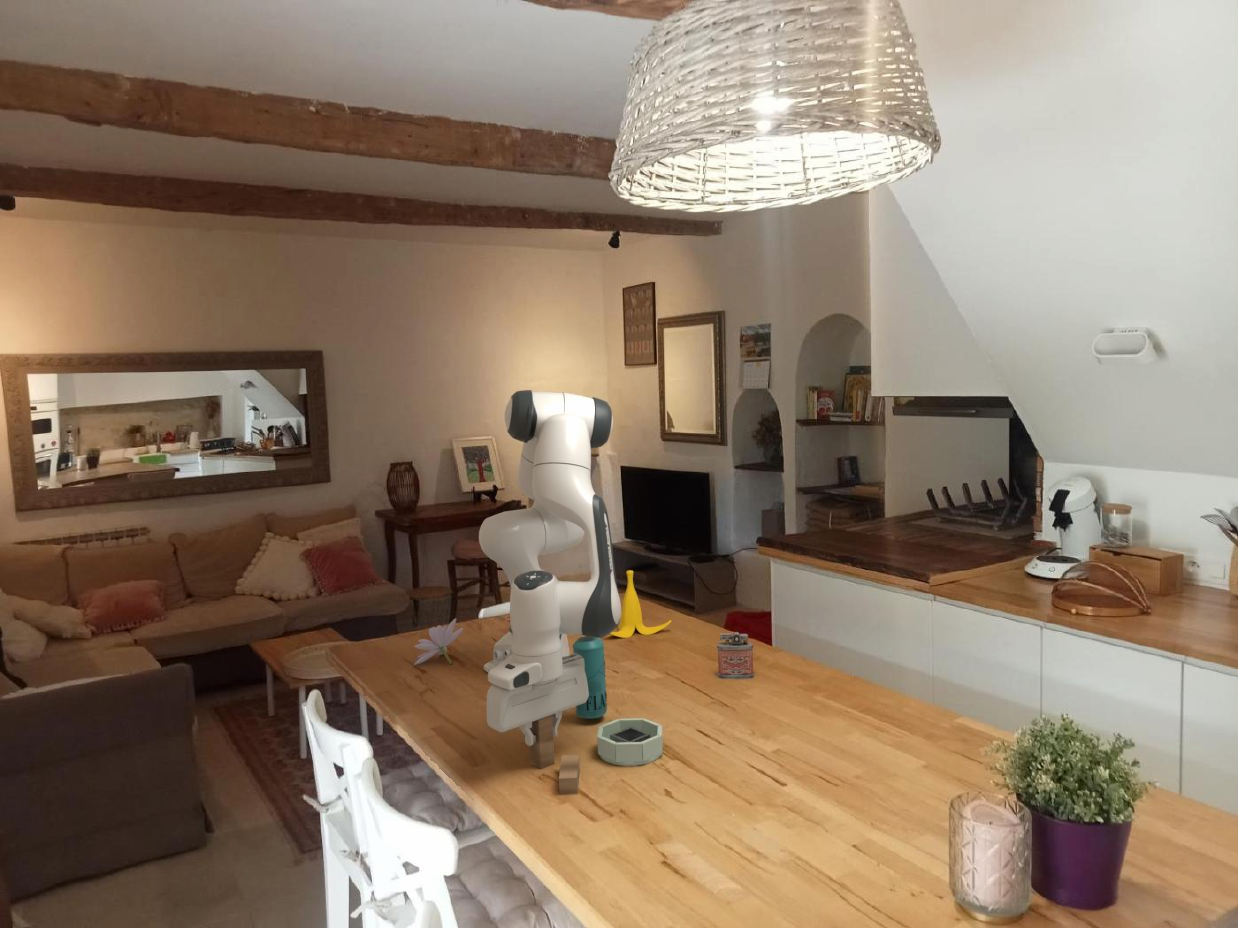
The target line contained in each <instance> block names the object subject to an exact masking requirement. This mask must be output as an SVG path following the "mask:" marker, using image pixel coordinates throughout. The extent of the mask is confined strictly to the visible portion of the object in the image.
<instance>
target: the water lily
mask: <svg viewBox="0 0 1238 928" xmlns="http://www.w3.org/2000/svg"><path fill="white" fill-rule="evenodd" d="M456 623H457V618H454V619H453V620H452V621H451V622H450V623H449V624H448V626H447V625H446V624H445V625H444V626H443V627H442V625H437V627H434V626H432V627H430V628H429V629H428V634H429V637H430V640H429V639H425V638H422V639H418V642H419V643H417V644H415V645H413V647H414V649H417V650H422V651H426V652H423V653H422V654H420V655H418V656H417V657H416V658H417V659H416V660H415V663H413V667H414V666H417V665H420V664H422V663H424V662H426V661H427V660H429V659H430V658H433V657H434V656H435V655H436V654H438V655H439V656H442V655H444V657H445V659H446V661H448V664H449V665H453V662H452V660H451V658H450V656H449V655H448V653H447V650H448V647H447V646H449V645H450V644H452V643H453V642H454V641H455V640H457V638H458V637H459V636H460V635H461V634H462V632H463V630H464V629H465V628H464V627H461V628H459V629H457V630H456V631H454V629H455V627H456Z"/></svg>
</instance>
